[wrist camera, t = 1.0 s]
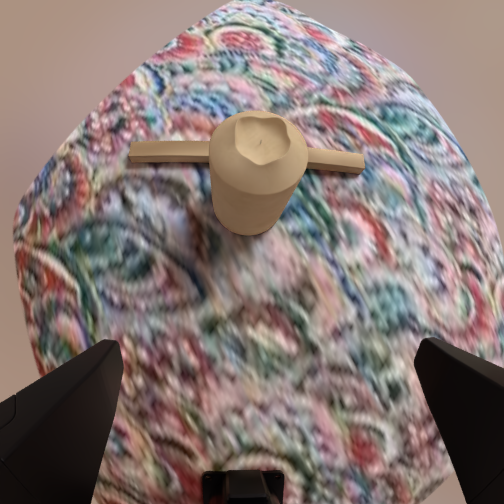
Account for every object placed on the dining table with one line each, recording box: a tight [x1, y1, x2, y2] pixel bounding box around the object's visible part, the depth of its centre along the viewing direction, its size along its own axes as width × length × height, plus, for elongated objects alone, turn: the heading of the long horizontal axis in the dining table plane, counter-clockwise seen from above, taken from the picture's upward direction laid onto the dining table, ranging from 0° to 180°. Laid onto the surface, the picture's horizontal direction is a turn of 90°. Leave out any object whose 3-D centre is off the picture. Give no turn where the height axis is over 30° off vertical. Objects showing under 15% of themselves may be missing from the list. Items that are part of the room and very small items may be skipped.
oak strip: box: [129, 141, 365, 174], centre depth 25 cm, size 1×20×1 cm, turn 89°
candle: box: [209, 111, 308, 236], centre depth 20 cm, size 6×6×10 cm
